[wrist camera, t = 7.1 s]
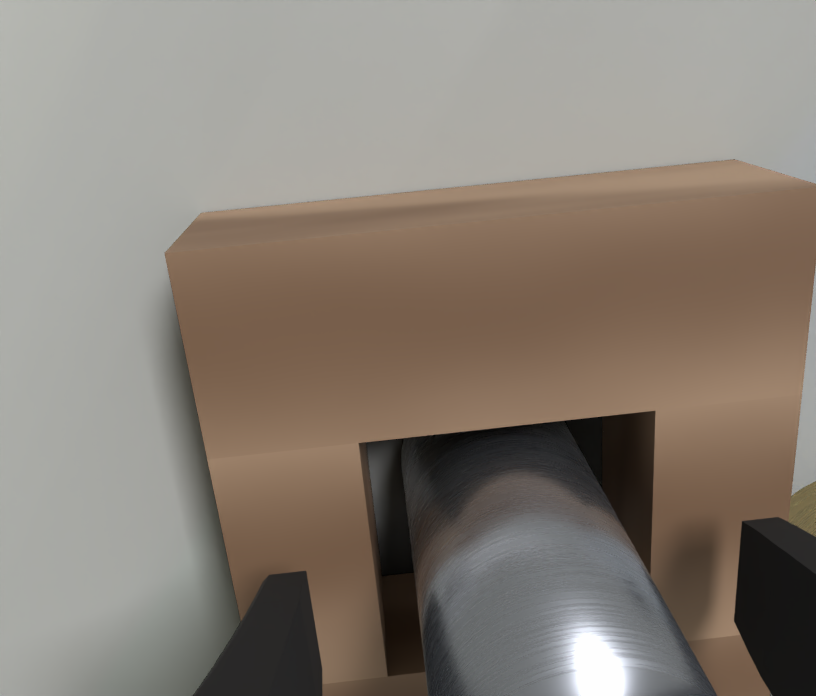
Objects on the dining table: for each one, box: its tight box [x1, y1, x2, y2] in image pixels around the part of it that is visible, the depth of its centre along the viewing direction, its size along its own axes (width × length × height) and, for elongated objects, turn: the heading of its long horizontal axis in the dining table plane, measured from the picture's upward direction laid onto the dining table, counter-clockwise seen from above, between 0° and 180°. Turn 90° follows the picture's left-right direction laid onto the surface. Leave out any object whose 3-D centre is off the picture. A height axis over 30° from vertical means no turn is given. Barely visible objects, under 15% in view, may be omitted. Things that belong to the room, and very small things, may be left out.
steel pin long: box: [401, 421, 717, 696], centre depth 13 cm, size 4×4×8 cm
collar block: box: [165, 159, 816, 696], centre depth 15 cm, size 12×10×3 cm
